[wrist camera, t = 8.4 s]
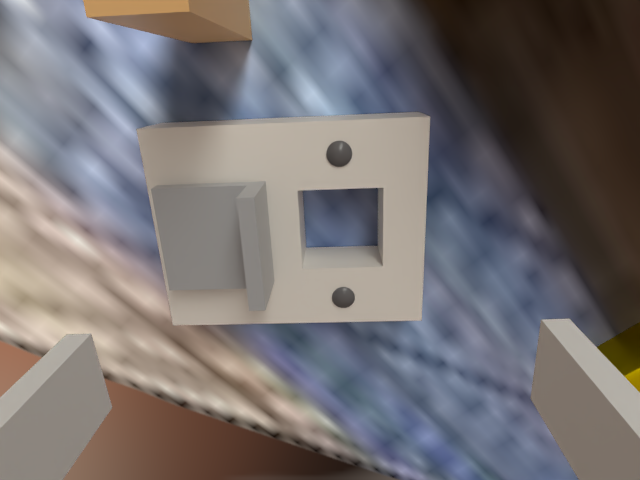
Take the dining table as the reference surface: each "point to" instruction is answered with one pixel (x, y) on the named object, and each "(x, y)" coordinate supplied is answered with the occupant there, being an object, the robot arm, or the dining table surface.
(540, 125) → the dining table surface
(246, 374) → the dining table surface
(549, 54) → the dining table surface
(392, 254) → the socket plate
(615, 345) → the element tile
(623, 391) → the robot arm
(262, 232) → the shutter
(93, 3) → the plug
